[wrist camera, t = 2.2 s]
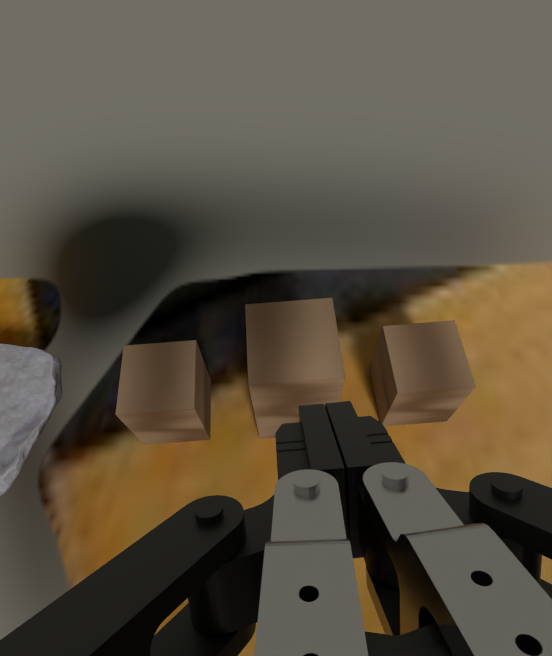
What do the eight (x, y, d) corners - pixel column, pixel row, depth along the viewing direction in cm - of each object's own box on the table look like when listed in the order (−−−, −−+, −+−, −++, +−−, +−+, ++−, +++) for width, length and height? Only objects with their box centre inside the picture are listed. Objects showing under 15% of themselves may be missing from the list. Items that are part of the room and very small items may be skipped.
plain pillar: (323, 367, 37) (332, 297, 29) (332, 433, 34) (345, 377, 26) (256, 373, 37) (245, 304, 28) (259, 438, 34) (248, 384, 26)
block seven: (210, 376, 37) (196, 336, 32) (210, 439, 34) (194, 408, 29) (149, 381, 37) (124, 342, 31) (144, 444, 34) (115, 414, 29)
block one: (429, 359, 37) (453, 317, 32) (446, 421, 34) (475, 386, 29) (368, 364, 37) (382, 322, 32) (380, 426, 34) (397, 392, 29)
